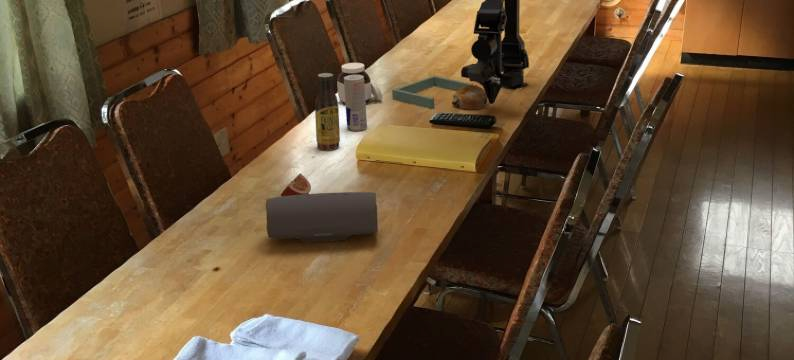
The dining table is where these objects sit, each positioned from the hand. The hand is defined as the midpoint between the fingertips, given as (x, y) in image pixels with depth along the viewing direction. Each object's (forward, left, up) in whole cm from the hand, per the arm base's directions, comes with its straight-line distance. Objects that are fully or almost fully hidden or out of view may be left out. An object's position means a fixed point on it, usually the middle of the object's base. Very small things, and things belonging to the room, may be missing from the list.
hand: (491, 103), depth 272 cm
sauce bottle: (+50, -15, -2) cm, 52 cm away
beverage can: (+35, -20, -2) cm, 40 cm away
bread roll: (0, -8, -2) cm, 8 cm away
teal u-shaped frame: (0, -23, -2) cm, 23 cm away
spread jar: (+17, -37, -2) cm, 41 cm away
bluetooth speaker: (+88, +26, -2) cm, 92 cm away
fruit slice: (+78, +5, -2) cm, 78 cm away
